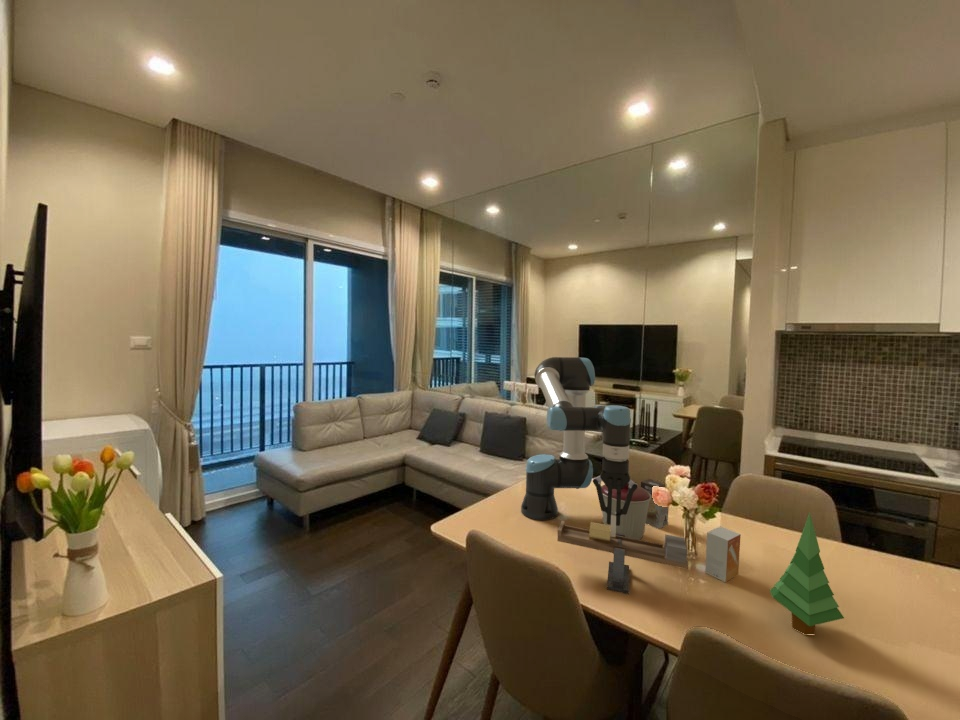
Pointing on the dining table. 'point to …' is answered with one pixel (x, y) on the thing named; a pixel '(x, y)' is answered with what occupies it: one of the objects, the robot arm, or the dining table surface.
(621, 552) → the beam stand
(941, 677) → the dining table surface
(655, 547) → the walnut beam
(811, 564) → the decorative tree
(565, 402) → the robot arm
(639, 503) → the canister
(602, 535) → the block
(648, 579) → the dining table surface
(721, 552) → the small box
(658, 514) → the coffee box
